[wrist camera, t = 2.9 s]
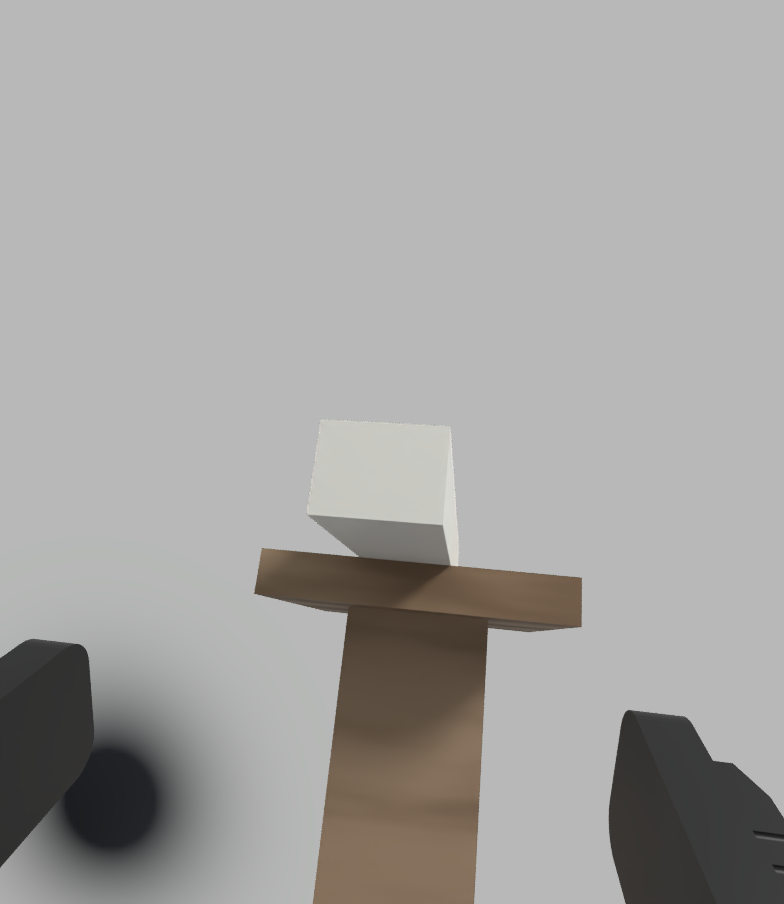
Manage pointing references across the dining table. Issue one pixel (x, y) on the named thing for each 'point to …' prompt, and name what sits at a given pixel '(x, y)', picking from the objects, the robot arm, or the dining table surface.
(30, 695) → the robot arm
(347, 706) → the stand
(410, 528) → the white long block
